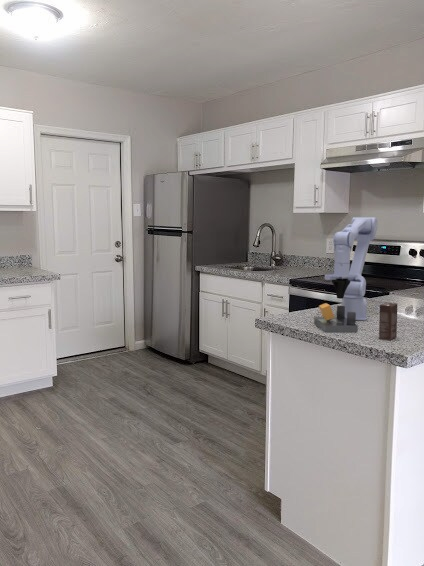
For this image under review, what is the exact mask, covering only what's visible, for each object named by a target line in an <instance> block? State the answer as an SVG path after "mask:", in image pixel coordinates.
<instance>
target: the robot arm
mask: <svg viewBox="0 0 424 566" xmlns="http://www.w3.org/2000/svg"><path fill="white" fill-rule="evenodd" d="M377 231H378V219H377V218H376V217H375V216H374V217H368V216H367V217H365V216H363V217H361V216H357V217H356V216H353V217H352V219H351V221H350V223H349V224H347V225H346V226H345V227H344V228H343V229H342V230H341V231H336V232H335V233H334V235H333V239H332V240H333V242H332V243H333V251H334V263H333V264H334V267H333V273H328V274H324V280H326V281H331V283H332V285H333V287H334V290H335V294H336V299H339V300H342V301H341V306H345V318H347V312H355V313H356V321H367V320H368V319H367V309H368V303H367V302H368V301H367V299H366V297H364V296H365V294H366V287H367V281H366V279H365V277H364V276H362V273H363V269H364V265H365V262H366V258H367V253H368V249H369V246H370V244H371V241H373V240H374V239H375V238H376V235H377ZM355 241H356V246H355V250H354V253H353V257H352V261H351V252H352V250H351V249H352V247H353V245H354V242H355ZM350 263H351V264H350Z"/></svg>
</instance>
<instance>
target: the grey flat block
mask: <svg viewBox="0 0 424 566" xmlns="http://www.w3.org/2000/svg"><path fill="white" fill-rule="evenodd" d="M332 320H333V322H330V321H329V320H326V319H324V318H323V316H314V319H313V321H314V322H313V324H314V325H315V324H316V325H315V326H317V328H319V329H320V330H322V331H323V332H324V333H325V334H326V333H359V332H358V331H359V330H358V329H359V325H358V324H356V323H355V325H354V326H351V325H347V318H343V319H340V318H337V316H334V318H332Z"/></svg>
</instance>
